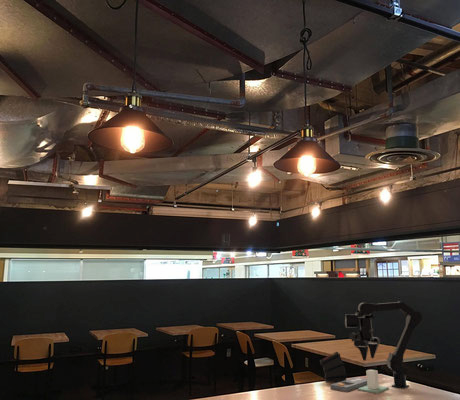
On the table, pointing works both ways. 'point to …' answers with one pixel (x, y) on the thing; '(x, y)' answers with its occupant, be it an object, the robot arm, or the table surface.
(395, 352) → the robot arm
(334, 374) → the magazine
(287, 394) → the table surface
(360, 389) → the green mat
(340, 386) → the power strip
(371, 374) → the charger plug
